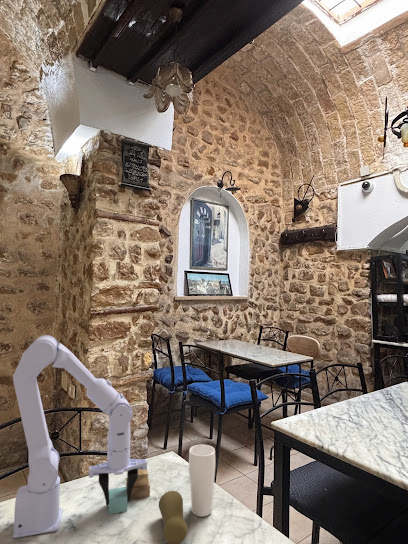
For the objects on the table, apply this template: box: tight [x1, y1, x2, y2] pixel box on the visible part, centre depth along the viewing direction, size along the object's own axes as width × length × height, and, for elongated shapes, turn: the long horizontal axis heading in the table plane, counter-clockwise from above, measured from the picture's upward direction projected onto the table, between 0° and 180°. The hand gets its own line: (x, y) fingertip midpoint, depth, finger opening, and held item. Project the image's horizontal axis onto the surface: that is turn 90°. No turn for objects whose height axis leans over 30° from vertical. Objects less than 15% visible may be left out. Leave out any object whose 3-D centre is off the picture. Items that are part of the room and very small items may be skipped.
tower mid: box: [133, 469, 149, 487], centre depth 93 cm, size 5×5×3 cm
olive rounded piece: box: [158, 490, 188, 544], centre depth 78 cm, size 6×6×11 cm
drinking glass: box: [188, 443, 216, 518], centre depth 85 cm, size 7×7×15 cm
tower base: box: [125, 477, 151, 500], centre depth 93 cm, size 6×6×3 cm
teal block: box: [108, 486, 128, 515], centre depth 86 cm, size 4×4×4 cm
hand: (117, 501), depth 86 cm, fingers closed on teal block, 4 cm apart
